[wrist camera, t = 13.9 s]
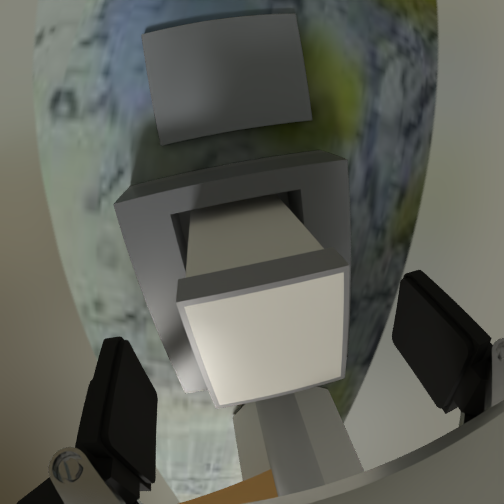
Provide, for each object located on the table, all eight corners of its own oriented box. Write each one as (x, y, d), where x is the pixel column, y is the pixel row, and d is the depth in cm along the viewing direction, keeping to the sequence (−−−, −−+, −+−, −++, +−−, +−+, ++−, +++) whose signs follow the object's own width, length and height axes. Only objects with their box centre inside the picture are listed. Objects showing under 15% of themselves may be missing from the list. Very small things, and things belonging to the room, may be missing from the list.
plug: (286, 267, 21) (344, 378, 12) (206, 284, 20) (215, 409, 11) (277, 188, 18) (349, 265, 9) (187, 206, 18) (176, 302, 9)
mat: (309, 120, 18) (312, 120, 17) (161, 144, 17) (160, 145, 17) (292, 16, 15) (295, 13, 14) (143, 37, 14) (141, 34, 14)
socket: (329, 325, 25) (347, 356, 21) (185, 356, 24) (185, 393, 20) (320, 149, 19) (347, 159, 15) (130, 186, 18) (113, 204, 14)
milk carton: (271, 372, 26) (333, 578, 9) (328, 388, 29) (400, 553, 12) (231, 415, 28) (264, 592, 11) (287, 426, 31) (334, 577, 14)
